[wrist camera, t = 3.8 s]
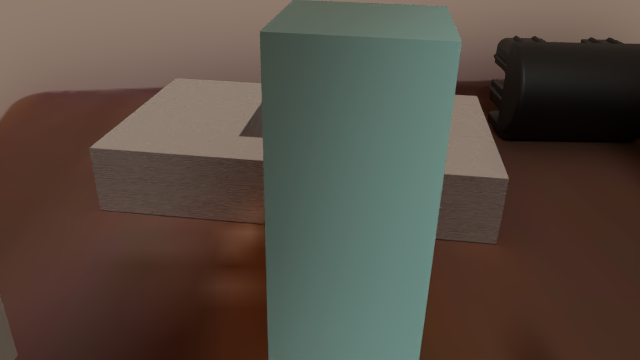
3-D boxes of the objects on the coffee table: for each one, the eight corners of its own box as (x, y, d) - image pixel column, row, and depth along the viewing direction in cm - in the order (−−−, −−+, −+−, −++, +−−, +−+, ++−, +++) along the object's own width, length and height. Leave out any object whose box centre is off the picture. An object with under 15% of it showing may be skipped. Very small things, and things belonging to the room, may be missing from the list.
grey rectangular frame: (469, 146, 38) (476, 96, 36) (496, 244, 27) (509, 178, 26) (180, 126, 40) (176, 78, 38) (100, 209, 29) (89, 147, 28)
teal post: (408, 327, 22) (446, 6, 16) (410, 424, 18) (461, 41, 12) (293, 315, 22) (293, -1, 17) (269, 407, 18) (260, 31, 13)
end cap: (508, 156, 37) (527, 53, 34) (479, 118, 43) (493, 28, 40) (659, 159, 37) (692, 56, 34) (609, 120, 43) (632, 31, 40)
